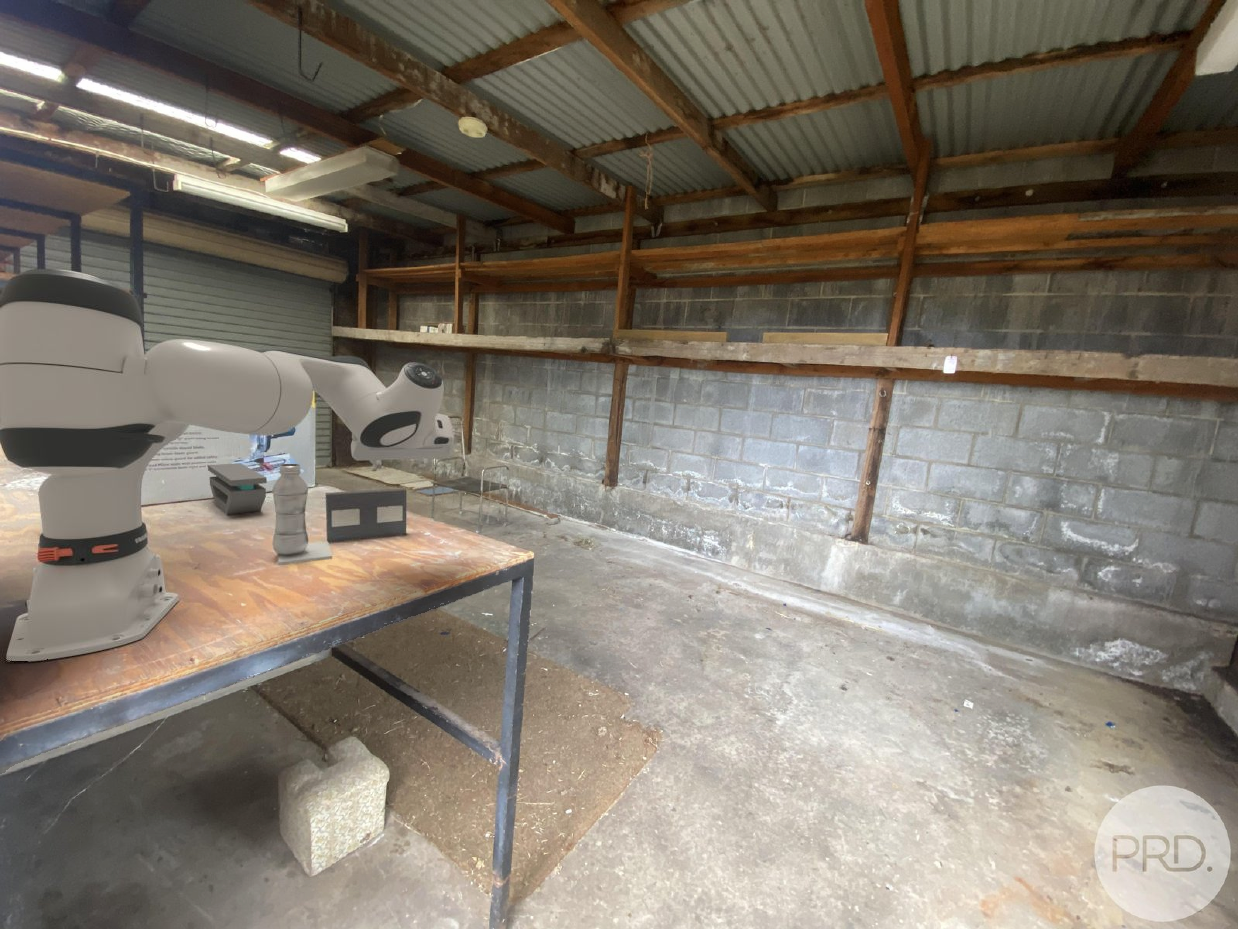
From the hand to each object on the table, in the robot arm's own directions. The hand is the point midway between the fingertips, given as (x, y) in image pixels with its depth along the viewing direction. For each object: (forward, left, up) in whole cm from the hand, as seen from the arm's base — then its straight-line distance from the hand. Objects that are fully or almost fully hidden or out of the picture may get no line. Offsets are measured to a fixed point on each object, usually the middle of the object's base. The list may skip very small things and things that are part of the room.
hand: (399, 465), depth 112 cm
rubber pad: (+10, +18, -22) cm, 30 cm away
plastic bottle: (+9, +21, -21) cm, 31 cm away
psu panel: (+17, +4, -21) cm, 28 cm away
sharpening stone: (+57, +32, -22) cm, 69 cm away
